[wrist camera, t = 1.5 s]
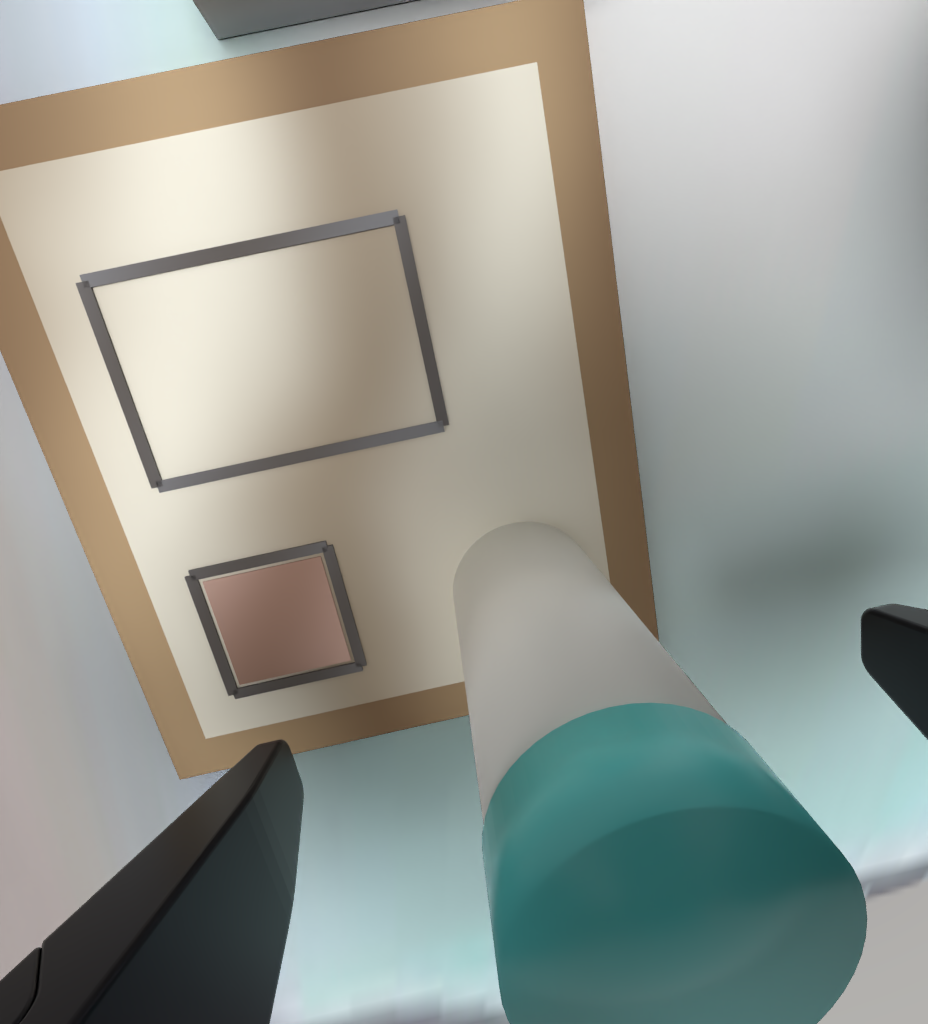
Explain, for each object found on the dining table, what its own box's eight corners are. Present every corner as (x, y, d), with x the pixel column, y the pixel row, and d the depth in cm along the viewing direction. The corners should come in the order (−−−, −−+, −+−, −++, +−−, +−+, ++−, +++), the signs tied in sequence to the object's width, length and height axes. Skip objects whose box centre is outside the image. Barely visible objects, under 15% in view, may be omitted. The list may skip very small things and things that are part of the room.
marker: (583, 505, 12) (867, 766, 5) (603, 637, 13) (866, 1045, 5) (437, 537, 12) (464, 857, 4) (466, 667, 13) (533, 1124, 5)
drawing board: (575, 1, 10) (584, -19, 10) (655, 663, 14) (665, 674, 14) (-75, 132, 10) (-103, 120, 10) (186, 767, 14) (177, 784, 13)
